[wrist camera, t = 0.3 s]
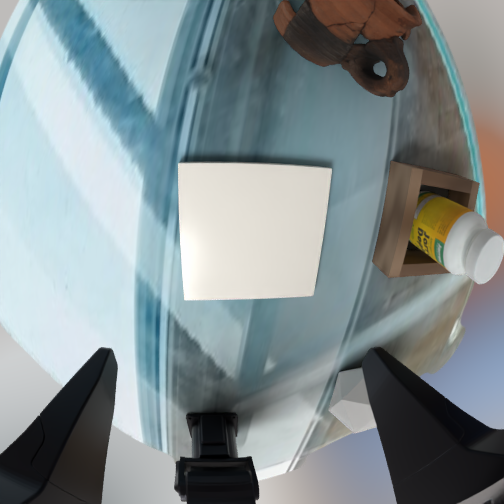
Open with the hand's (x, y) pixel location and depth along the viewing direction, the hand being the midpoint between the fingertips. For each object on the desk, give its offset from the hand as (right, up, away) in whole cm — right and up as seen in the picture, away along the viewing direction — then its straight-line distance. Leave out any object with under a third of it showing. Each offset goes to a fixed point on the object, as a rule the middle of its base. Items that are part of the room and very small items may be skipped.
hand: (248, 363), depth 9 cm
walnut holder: (+16, +7, +15) cm, 23 cm away
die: (+13, -12, +24) cm, 29 cm away
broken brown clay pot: (+7, +21, +7) cm, 23 cm away
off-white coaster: (0, +5, +13) cm, 14 cm away
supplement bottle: (+16, +7, +15) cm, 23 cm away
